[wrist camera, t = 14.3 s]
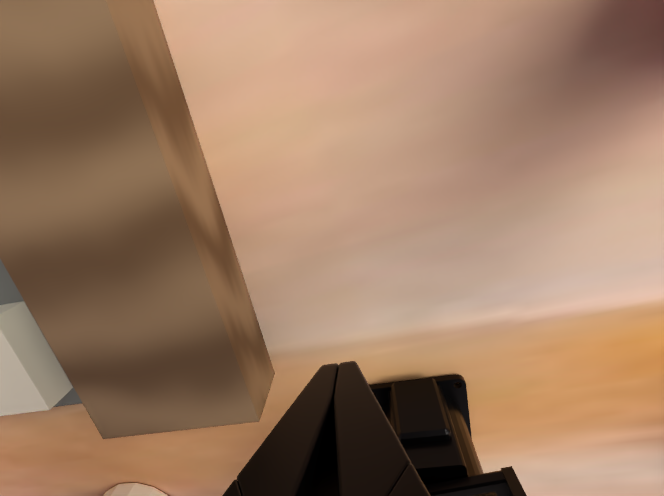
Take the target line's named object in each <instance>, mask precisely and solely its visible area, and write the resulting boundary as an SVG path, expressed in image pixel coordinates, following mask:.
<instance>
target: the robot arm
mask: <svg viewBox="0 0 664 496" xmlns="http://www.w3.org/2000/svg"><path fill="white" fill-rule="evenodd" d="M456 382H459V383H458V384H455V383H456ZM373 392H374V394H373ZM222 496H526V494H525V492H524V490H523V488H522V486H521V484H520V482H519V480H518V478H517V476H516V474H515V472H514V470H513V468H512V466H511V467H505V468H501V471H495V472H490V473H483V470H482V468H481V465H480V462H479V459H478V456H477V454H476V451H475V448H474V445H473V442H472V439H471V429H470V419H469V409H468V400H467V390H466V383H465V381H464V378H463V377H462V376H461V375H448V376H440V377H432V378H423V379H415V380H407V381H399V382H391V383H382V384H374V385H368V383H367V381H366V379H365V377H364V376H363V374H362V372H361V370H360V368H359V367H358V365H357V363H356V362H355V361H350V362H343V363H340V364H339V365H338V364H336V363H335V364H328V365H323V366H321V367H320V369H319V370H318V371H317V372H316V374H315V375H314V376H313V378H312V379H311V380H310V382H309V383H308V384H307V386H306V387H305V388H304V390H303V391H302V392H301V393H300V395H299V396H298V397H297V399H296V400H295V401H294V403H293V404H292V405H291V407H290V408H289V409H288V410H287V412H286V413H285V414H284V416H283V417H282V418H281V420H280V421H279V422H278V424H277V425H276V426H275V428H274V429H273V430H272V431H271V433H270V434H269V435H268V437H267V438H266V439H265V441H264V442H263V443H262V445H261V446H260V447H259V449H258V450H257V451H256V452H255V454H254V455H253V456H252V458H251V459H250V460H249V462H248V463H247V464H246V466H245V467H244V468H243V469H242V471H241V472H240V473H239V475H238V476H237V480H234V481H233V482H232V484H231V485H230V486H229V488H228V489H227V490H226V492H225V493H224V494H223V495H222Z"/></svg>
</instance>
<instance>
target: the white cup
mask: <svg viewBox="0 0 664 496" xmlns="http://www.w3.org/2000/svg"><path fill="white" fill-rule="evenodd" d="M103 496H168V495H167V494H165V493H163V492H162V491H160V490H158V489H157V488H155V487H152V486H148V485H144V484H140V483H122V484H118V485H116V486H114V487H113V488H111V489H109V490H107V491H106V492H105V494H104V495H103Z"/></svg>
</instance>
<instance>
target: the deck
mask: <svg viewBox="0 0 664 496" xmlns="http://www.w3.org/2000/svg"><path fill="white" fill-rule="evenodd" d="M0 259H1V261H2V263H3V264H4V266H5V268H6V270H7V271H8V273H9V275H10V277H11V278H12V280H13V282H14V284H15V285H16V287H17V289H18V291H19V292H20V294H21V296H22V298H23V299H24V301H25V303H26V305H27V306H28V308H29V310H30V312H31V313H32V315H33V317H34V319H35V320H36V322H37V324H38V326H39V327H40V329H41V331H42V333H43V334H44V336H45V338H46V340H47V342H48V343H49V345H50V347H51V349H52V350H53V352H54V354H55V356H56V357H57V359H58V361H59V363H60V364H61V366H62V368H63V370H64V371H65V373H66V375H67V377H68V378H69V380H70V382H71V384H72V385H73V387H74V389H75V391H76V392H77V394H78V396H79V398H80V399H81V401H82V403H83V405H84V406H85V408H86V410H87V412H88V413H89V415H90V417H91V419H92V420H93V422H94V424H95V426H96V427H97V429H98V431H99V433H100V434H101V436H102V438H103V439H108V438H117V437H126V436H135V435H144V434H153V433H162V432H170V431H179V430H188V429H197V428H206V427H215V426H224V425H233V424H242V423H250V422H259V421H260V418H261V415H262V411H263V408H264V405H265V402H266V399H267V396H268V393H269V390H270V386H271V383H272V380H273V377H274V374H275V373H274V370H273V367H272V364H271V361H270V358H269V355H268V352H267V348H266V345H265V342H264V339H263V336H262V333H261V330H260V327H259V324H258V321H257V318H256V315H255V312H254V309H253V306H252V302H251V299H250V296H249V293H248V290H247V287H246V284H245V281H244V278H243V275H242V272H241V269H240V266H239V263H238V260H237V256H236V253H235V250H234V247H233V244H232V241H231V238H230V235H229V232H228V229H227V226H226V223H225V220H224V217H223V214H222V210H221V207H220V204H219V201H218V198H217V195H216V192H215V189H214V186H213V183H212V180H211V177H210V174H209V171H208V167H207V164H206V161H205V158H204V155H203V152H202V149H201V146H200V143H199V140H198V137H197V134H196V131H195V128H194V125H193V121H192V118H191V115H190V112H189V109H188V106H187V103H186V100H185V97H184V94H183V91H182V88H181V85H180V82H179V79H178V75H177V72H176V69H175V66H174V63H173V60H172V57H171V54H170V51H169V48H168V45H167V42H166V39H165V36H164V33H163V29H162V26H161V23H160V20H159V17H158V14H157V11H156V8H155V5H154V2H153V0H0Z"/></svg>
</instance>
